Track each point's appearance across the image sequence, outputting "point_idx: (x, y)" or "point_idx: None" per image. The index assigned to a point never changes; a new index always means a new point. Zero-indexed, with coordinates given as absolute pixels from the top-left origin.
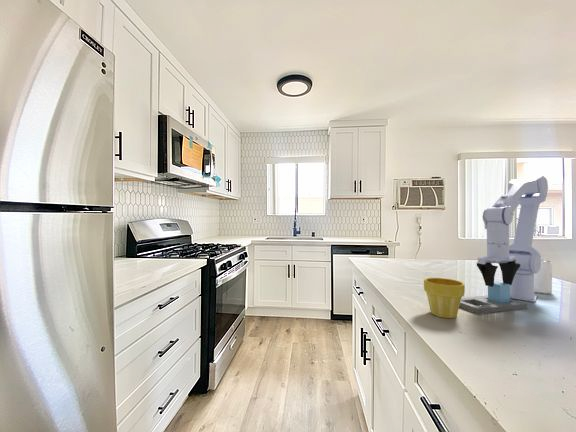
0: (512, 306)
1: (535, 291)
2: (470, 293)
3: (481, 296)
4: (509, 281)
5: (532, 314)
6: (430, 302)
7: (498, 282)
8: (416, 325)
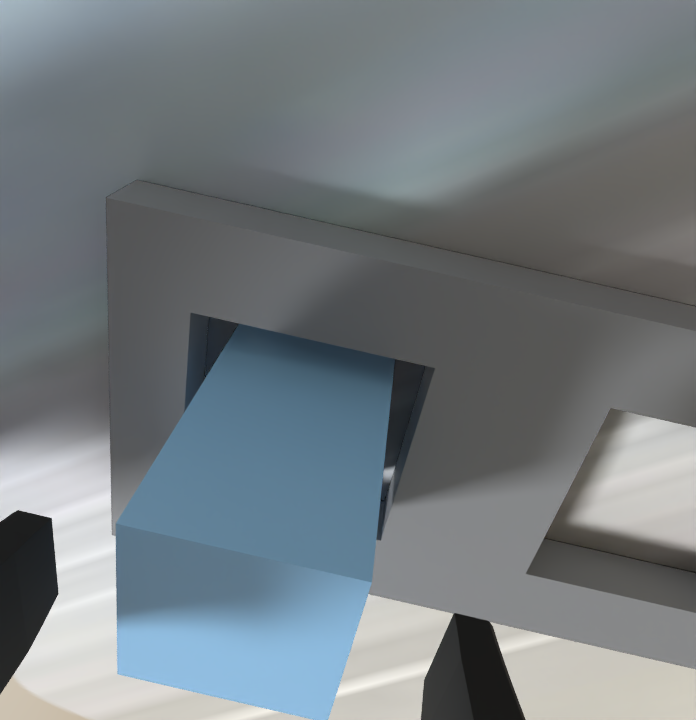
0: (385, 254)
1: None
2: None
3: None
4: (5, 580)
5: (351, 9)
6: None
7: (165, 648)
8: None
